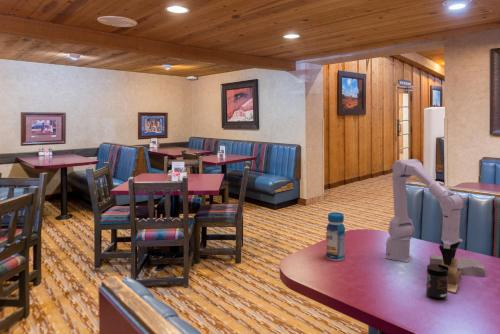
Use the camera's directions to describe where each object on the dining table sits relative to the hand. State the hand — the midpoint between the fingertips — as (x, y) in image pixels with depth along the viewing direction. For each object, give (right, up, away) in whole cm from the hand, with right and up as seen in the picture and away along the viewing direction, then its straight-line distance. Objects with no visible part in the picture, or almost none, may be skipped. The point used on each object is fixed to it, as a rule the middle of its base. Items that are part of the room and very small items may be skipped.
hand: (449, 261), depth 145 cm
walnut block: (0, -8, +1) cm, 8 cm away
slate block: (+1, -6, +12) cm, 13 cm away
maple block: (0, -4, 0) cm, 4 cm away
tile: (-4, -8, -6) cm, 11 cm away
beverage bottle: (-37, -5, +26) cm, 46 cm away
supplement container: (-11, -9, -12) cm, 19 cm away
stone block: (+12, -6, +10) cm, 17 cm away
